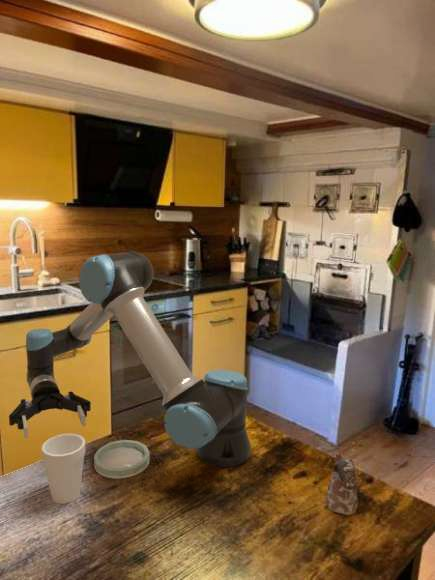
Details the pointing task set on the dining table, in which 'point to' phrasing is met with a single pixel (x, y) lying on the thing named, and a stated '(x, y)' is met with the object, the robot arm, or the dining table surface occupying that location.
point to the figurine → (342, 487)
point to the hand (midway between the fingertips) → (56, 426)
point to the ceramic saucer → (121, 459)
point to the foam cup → (64, 466)
